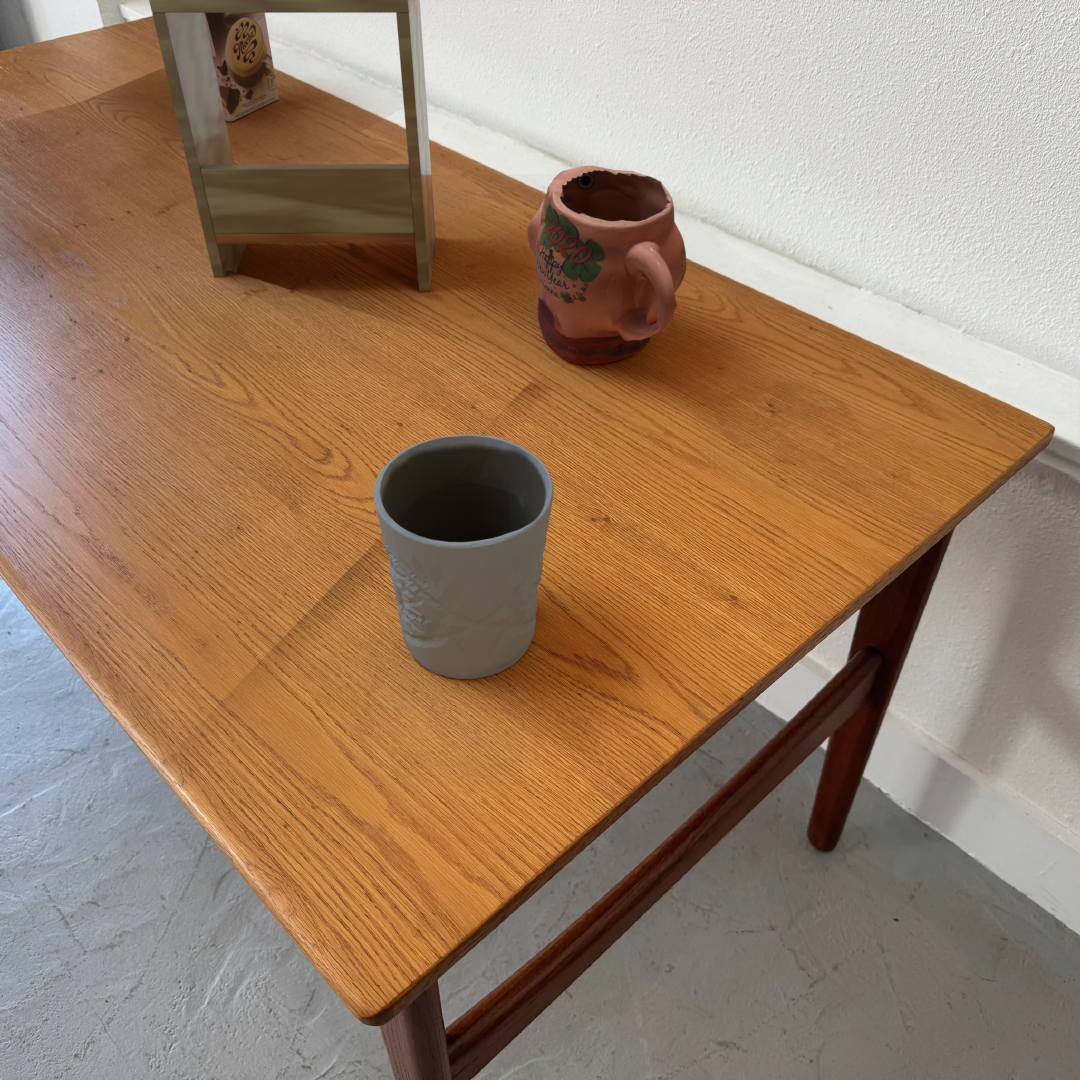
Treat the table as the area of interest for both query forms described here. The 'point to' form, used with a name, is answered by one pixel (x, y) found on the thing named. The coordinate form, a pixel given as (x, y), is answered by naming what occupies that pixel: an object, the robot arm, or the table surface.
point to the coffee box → (242, 61)
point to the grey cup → (465, 549)
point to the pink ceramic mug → (605, 263)
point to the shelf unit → (295, 189)
